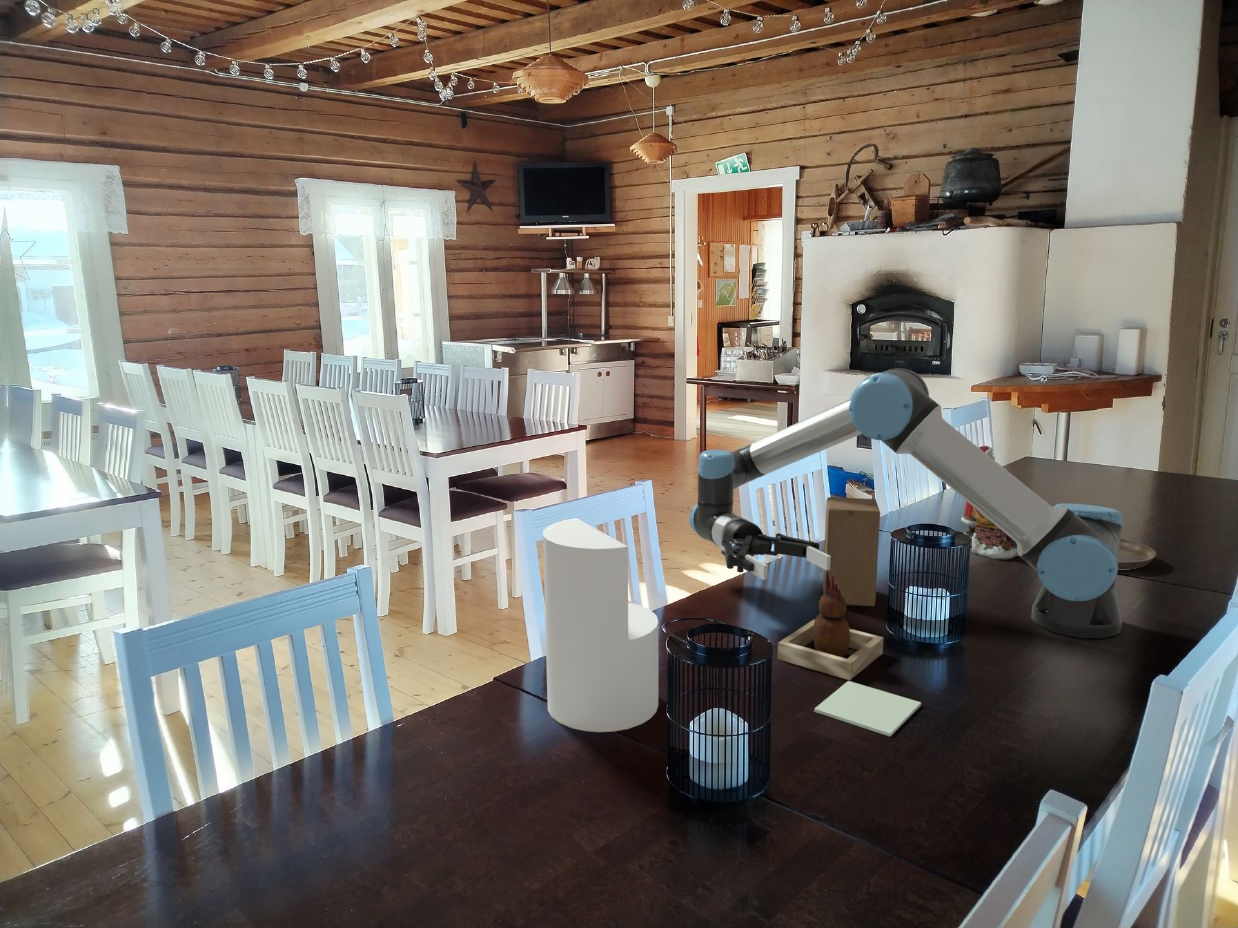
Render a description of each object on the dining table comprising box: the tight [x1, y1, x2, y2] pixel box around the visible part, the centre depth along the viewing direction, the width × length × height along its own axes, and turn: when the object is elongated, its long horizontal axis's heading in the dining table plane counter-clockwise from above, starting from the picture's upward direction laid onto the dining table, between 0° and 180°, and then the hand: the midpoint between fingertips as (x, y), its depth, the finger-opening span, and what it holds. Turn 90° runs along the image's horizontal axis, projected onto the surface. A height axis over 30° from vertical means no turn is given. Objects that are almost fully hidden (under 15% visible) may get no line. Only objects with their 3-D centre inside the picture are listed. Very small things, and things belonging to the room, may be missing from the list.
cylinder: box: [542, 517, 659, 733], centre depth 134 cm, size 17×17×28 cm
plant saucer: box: [1118, 538, 1157, 570], centre depth 204 cm, size 21×21×3 cm
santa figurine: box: [960, 445, 1020, 560], centre depth 210 cm, size 17×14×25 cm
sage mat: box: [813, 680, 922, 737], centre depth 135 cm, size 12×12×1 cm
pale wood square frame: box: [776, 619, 884, 681], centre depth 153 cm, size 13×13×3 cm
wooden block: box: [822, 496, 881, 607], centre depth 179 cm, size 10×10×20 cm
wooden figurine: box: [813, 571, 850, 658], centre depth 152 cm, size 7×6×15 cm
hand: (797, 567), depth 160 cm, fingers open, 13 cm apart
